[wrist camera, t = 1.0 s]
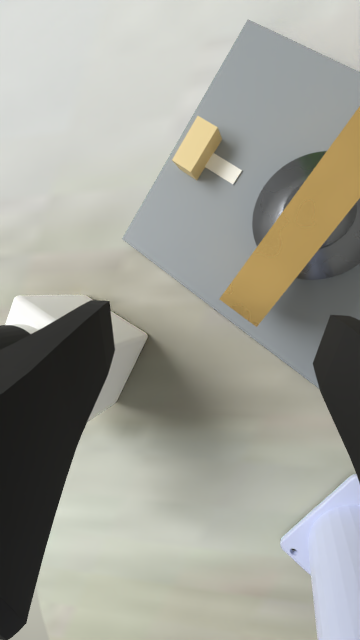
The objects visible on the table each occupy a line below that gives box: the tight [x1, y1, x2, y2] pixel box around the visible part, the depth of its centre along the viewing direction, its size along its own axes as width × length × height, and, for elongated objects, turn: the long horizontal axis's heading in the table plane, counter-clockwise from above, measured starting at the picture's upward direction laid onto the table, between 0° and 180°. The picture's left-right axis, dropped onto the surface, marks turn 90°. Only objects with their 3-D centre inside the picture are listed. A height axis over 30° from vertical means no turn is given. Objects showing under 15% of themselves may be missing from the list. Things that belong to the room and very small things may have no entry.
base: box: [122, 20, 360, 389], centre depth 18 cm, size 22×16×2 cm
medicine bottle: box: [0, 295, 148, 422], centre depth 19 cm, size 7×7×12 cm
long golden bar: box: [220, 106, 360, 327], centre depth 15 cm, size 7×13×4 cm, turn 144°
